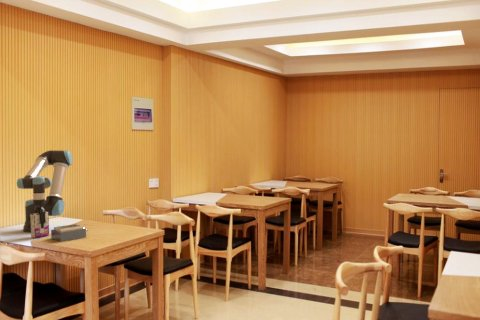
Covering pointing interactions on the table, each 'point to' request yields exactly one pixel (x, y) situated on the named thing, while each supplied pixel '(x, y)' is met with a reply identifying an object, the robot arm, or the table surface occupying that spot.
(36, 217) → the candy bar box
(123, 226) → the table surface
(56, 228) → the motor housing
